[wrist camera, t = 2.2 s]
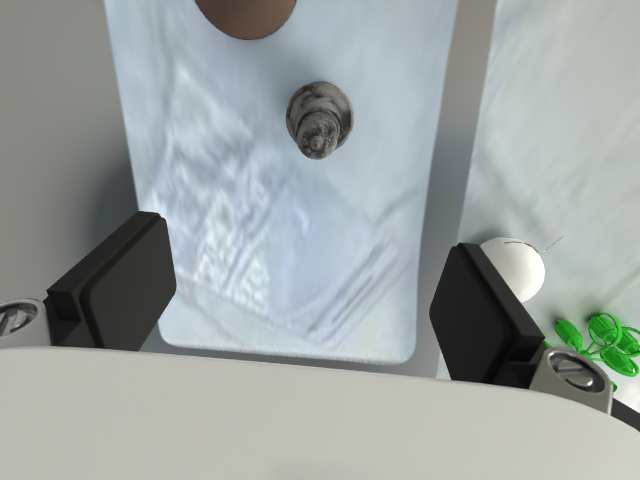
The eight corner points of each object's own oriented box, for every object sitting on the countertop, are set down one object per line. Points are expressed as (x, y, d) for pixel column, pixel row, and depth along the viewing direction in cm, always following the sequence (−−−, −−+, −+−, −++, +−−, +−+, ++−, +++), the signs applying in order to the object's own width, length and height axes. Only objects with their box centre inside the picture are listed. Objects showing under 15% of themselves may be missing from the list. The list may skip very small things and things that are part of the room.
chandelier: (498, 373, 50) (521, 418, 45) (546, 298, 43) (581, 340, 37) (592, 384, 51) (627, 429, 45) (656, 312, 43) (708, 355, 38)
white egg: (472, 286, 42) (497, 329, 36) (448, 245, 39) (471, 284, 33) (555, 249, 39) (598, 290, 33) (536, 201, 36) (579, 235, 30)
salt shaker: (278, 97, 31) (253, 126, 21) (334, 65, 30) (337, 78, 19) (308, 153, 34) (298, 202, 24) (361, 125, 32) (376, 166, 22)
